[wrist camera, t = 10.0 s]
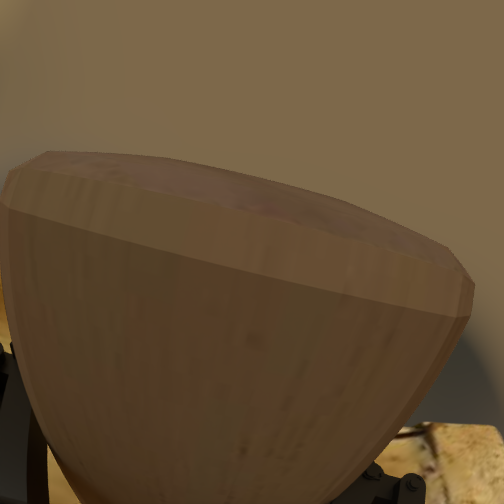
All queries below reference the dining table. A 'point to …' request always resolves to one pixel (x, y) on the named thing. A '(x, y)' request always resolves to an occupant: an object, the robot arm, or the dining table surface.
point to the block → (216, 328)
